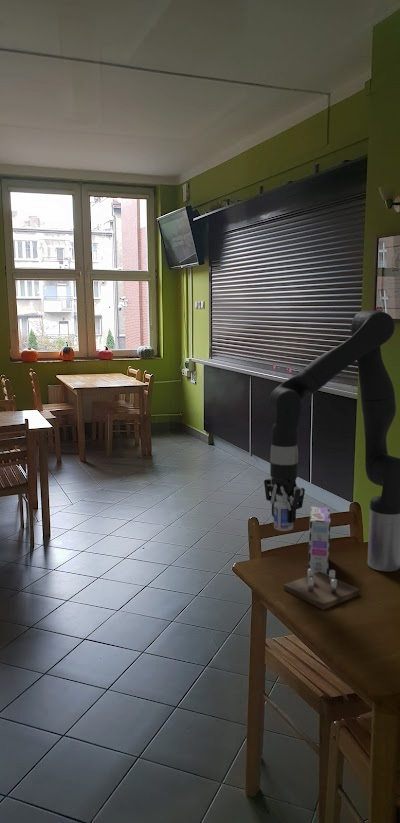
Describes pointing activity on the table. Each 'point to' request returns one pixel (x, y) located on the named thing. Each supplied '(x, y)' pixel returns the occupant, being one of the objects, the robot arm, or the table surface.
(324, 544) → the candy box
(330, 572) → the steel pegs
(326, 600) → the peg board
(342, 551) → the table surface
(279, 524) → the pill bottle
